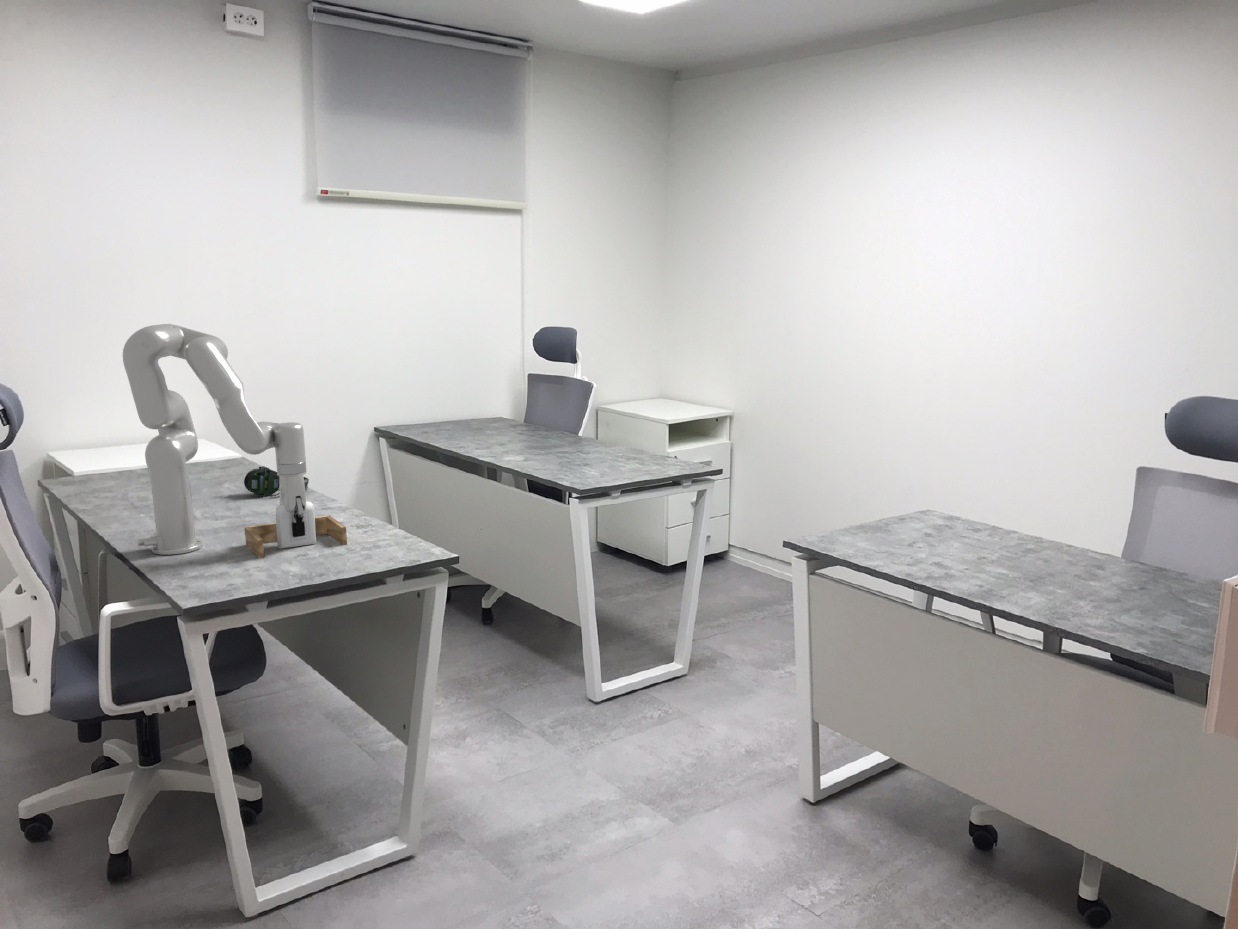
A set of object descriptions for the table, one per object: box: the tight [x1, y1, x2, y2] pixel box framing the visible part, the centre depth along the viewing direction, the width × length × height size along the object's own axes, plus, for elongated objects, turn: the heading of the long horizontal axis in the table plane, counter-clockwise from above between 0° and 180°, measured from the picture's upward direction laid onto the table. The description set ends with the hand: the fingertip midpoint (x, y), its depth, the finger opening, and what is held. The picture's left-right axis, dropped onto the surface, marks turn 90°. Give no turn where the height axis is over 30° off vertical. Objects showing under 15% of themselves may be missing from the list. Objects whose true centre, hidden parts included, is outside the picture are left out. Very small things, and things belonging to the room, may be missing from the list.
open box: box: [244, 515, 348, 559], centre depth 263 cm, size 23×16×5 cm
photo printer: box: [275, 500, 317, 549], centre depth 261 cm, size 10×4×12 cm, turn 123°
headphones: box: [243, 466, 310, 498], centre depth 324 cm, size 13×13×20 cm
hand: (296, 533), depth 262 cm, fingers closed on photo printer, 4 cm apart
